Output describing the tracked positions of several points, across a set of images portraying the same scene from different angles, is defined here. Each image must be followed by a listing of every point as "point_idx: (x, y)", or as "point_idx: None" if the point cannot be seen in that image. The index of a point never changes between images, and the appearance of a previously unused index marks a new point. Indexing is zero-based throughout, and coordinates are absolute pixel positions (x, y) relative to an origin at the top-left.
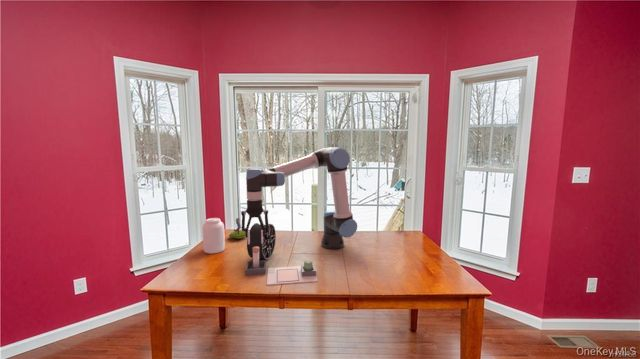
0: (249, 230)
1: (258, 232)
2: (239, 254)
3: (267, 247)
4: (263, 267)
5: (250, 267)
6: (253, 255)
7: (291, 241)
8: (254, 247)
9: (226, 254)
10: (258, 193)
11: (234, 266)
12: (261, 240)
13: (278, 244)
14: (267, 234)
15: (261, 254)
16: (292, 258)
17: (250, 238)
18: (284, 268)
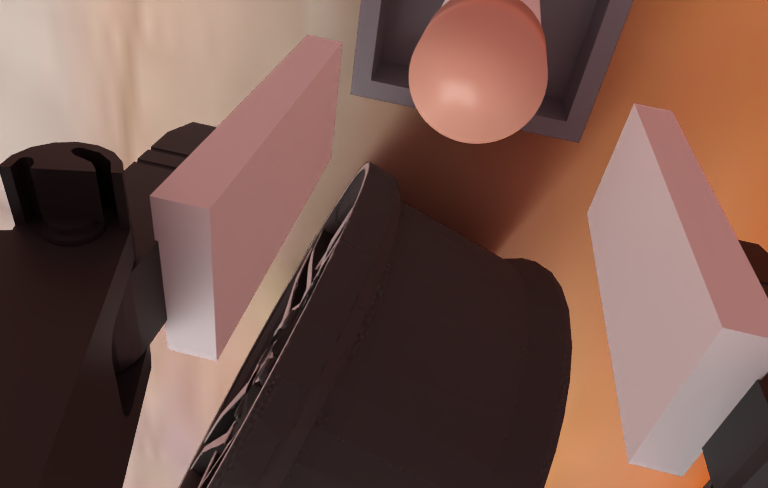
0: (637, 456)
1: (359, 480)
2: (584, 391)
3: (304, 298)
4: (403, 12)
5: (552, 66)
6: (535, 7)
7: (139, 432)
8: (502, 100)
9: None
10: None
11: (713, 173)
12: (317, 72)
13: None
14: (237, 432)
15: (392, 177)
16: (99, 141)
17: (511, 418)
18: None
